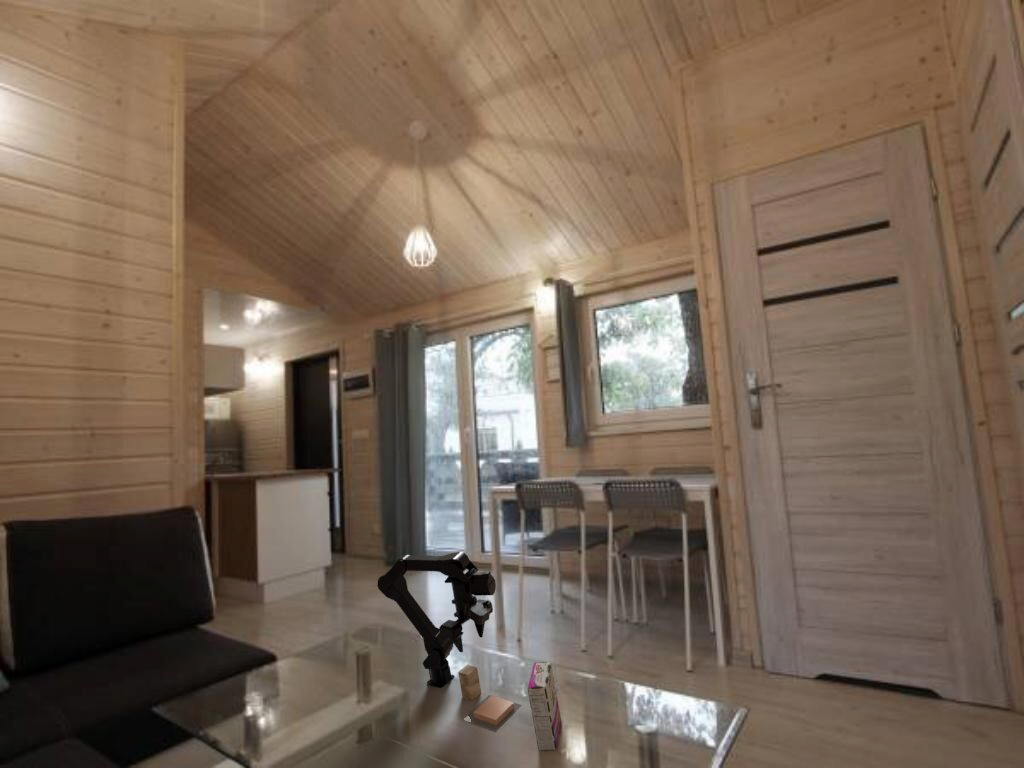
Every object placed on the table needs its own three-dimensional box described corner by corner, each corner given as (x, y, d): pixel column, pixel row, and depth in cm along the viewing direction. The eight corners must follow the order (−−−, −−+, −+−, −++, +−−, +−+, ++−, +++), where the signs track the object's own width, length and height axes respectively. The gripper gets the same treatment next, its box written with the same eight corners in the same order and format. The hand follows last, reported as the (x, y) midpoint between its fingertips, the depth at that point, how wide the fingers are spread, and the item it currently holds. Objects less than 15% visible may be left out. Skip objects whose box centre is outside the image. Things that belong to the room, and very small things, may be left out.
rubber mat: (462, 720, 152) (461, 719, 152) (489, 695, 162) (489, 694, 162) (495, 732, 145) (495, 731, 145) (521, 706, 154) (521, 704, 154)
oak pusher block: (462, 698, 163) (458, 671, 162) (471, 690, 166) (467, 664, 166) (472, 701, 160) (468, 674, 160) (481, 693, 163) (477, 667, 163)
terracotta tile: (473, 712, 152) (495, 719, 147) (491, 695, 158) (513, 702, 153) (474, 718, 152) (496, 725, 147) (492, 701, 158) (514, 708, 153)
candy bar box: (543, 721, 146) (533, 661, 146) (561, 721, 145) (551, 660, 145) (537, 751, 135) (526, 687, 135) (557, 751, 134) (546, 686, 134)
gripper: (462, 612, 156) (471, 665, 157) (502, 585, 171) (510, 634, 172) (434, 607, 163) (443, 658, 164) (475, 581, 178) (483, 628, 179)
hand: (471, 644), depth 169 cm, fingers open, 9 cm apart
